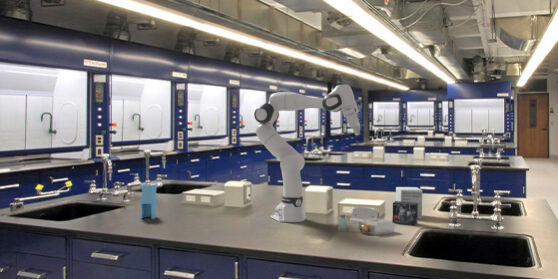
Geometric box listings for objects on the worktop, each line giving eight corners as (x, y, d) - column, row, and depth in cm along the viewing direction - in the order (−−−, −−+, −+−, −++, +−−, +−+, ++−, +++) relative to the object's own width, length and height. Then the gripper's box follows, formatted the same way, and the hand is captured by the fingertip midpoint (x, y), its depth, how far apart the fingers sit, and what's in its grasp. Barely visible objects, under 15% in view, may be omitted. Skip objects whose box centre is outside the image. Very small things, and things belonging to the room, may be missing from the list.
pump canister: (335, 229, 244) (335, 214, 243) (342, 228, 246) (343, 213, 246) (342, 231, 239) (342, 216, 239) (349, 230, 242) (349, 215, 242)
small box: (392, 223, 261) (392, 202, 261) (394, 221, 267) (395, 200, 267) (415, 225, 255) (415, 204, 254) (417, 223, 261) (418, 202, 260)
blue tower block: (157, 216, 276) (157, 183, 275) (152, 219, 268) (152, 185, 267) (145, 216, 276) (145, 183, 276) (140, 218, 269) (139, 185, 268)
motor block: (354, 231, 239) (354, 220, 239) (377, 227, 249) (377, 217, 249) (370, 236, 229) (370, 224, 229) (394, 232, 239) (394, 220, 239)
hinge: (348, 222, 262) (351, 205, 265) (351, 223, 266) (354, 206, 269) (376, 226, 254) (378, 208, 256) (379, 227, 257) (381, 209, 260)
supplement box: (422, 219, 274) (422, 190, 273) (400, 218, 274) (400, 189, 273) (416, 214, 287) (416, 187, 286) (395, 214, 287) (395, 186, 286)
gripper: (347, 113, 266) (354, 136, 265) (342, 112, 246) (350, 137, 245) (358, 110, 264) (365, 133, 263) (353, 109, 244) (361, 133, 244)
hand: (358, 135), depth 254 cm, fingers open, 8 cm apart
